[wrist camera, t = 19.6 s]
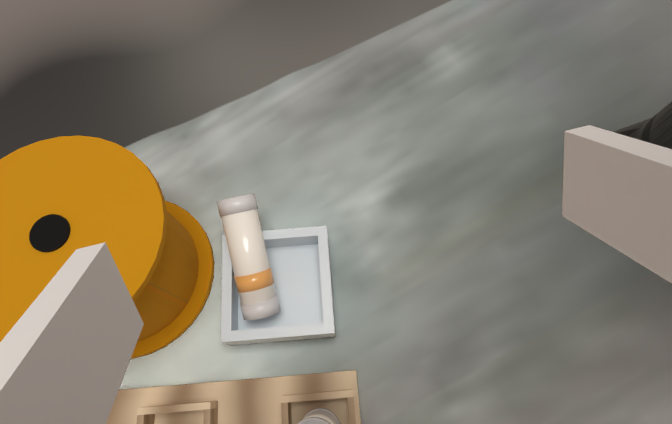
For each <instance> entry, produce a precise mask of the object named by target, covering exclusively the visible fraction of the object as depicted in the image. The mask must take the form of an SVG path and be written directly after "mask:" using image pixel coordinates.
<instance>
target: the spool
mask: <svg viewBox="0 0 672 424" xmlns="http://www.w3.org/2000/svg"><path fill="white" fill-rule="evenodd" d="M104 242H106V244H107V247H108V249H109V251H110V253H111V255H112V257H113V259H114V261H115V264H116V266H117V268H118V270H119V272H120V274H121V276H122V278H123V281H124V283H125V285H126V287H127V289H128V291H129V293H130V295H131V298H132V300H133V302H134V304H135V306H136V308H137V310H138V312H139V315H140V317H141V319H142V321H143V323H144V325H143V328H142V330H141V333H140V335H139V338H138V341H137V343H136V346H135V349H134V351H133V354H132V356H131V359H133V358H137V357H141V356H145V355H148V354H151V353H153V352H155V351H157V350H159V349H161V348H164V347H166V346H167V345H168V344H170V343H171V342H173V341H174V340H175V339H177V338H178V337H180V336H181V335H182V334H183V333H184V332H185V331H186V330H187V329H188V328H189V327H190V326H191V325H192V324H193V322H194V321H195V319H196V318H197V316H198V315H199V313H200V312H201V311H202V309H203V307H204V305H205V303H206V300H207V298H208V296H209V294H210V290H211V286H212V282H213V278H214V258H213V251H212V247H211V244H210V241H209V239H208V236H207V234H206V233H205V231H204V230H203V228H202V227H201V225H200V224H199V222H198V221H197V220H196V219H195V218H194V217H193V216H191V215H190V214H189V213H188V212H187V211H186V210H184V209H182V208H181V207H179V206H177V205H176V204H173V203H170V202H167V201H165V200H164V197H163V194H162V191H161V189H160V186H159V183H158V182H157V180H156V179H155V177H154V176H153V174H152V173H151V171H150V170H149V168H148V167H147V166H146V165H145V164H144V163H143V162H142V161H141V160H140V159H138V158H137V157H136V156H135V155H134V154H133V153H132V152H130V151H128V150H127V149H125V148H123V147H121V146H120V145H118V144H116V143H113V142H110V141H107V140H104V139H101V138H95V137H87V136H63V137H56V138H51V139H47V140H42V141H38V142H36V143H33V144H30V145H28V146H25V147H23V148H20V149H18V150H16V151H14V152H13V153H11V154H9V155H7V156H5V157H4V158H2V159H0V342H1V341H2V340H3V339H4V337H5V336H6V335H7V334H8V332H9V331H10V330H11V329H12V327H13V326H14V325H15V324H16V323H17V321H18V320H19V319H20V318H21V316H22V315H23V314H24V313H25V312H26V310H27V309H28V308H29V307H30V305H31V304H32V303H33V302H34V301H35V299H36V298H37V297H38V296H39V294H40V293H41V292H42V291H43V289H44V288H45V287H46V286H47V285H48V283H49V282H50V281H51V280H52V278H53V277H54V276H55V275H56V274H57V272H58V271H59V270H60V269H61V267H62V266H63V265H64V264H65V262H66V261H67V260H68V259H69V258H70V256H71V255H72V254H73V253H74V251H75V250H76V249H80V248H84V247H88V246H92V245H96V244H100V243H104Z"/></svg>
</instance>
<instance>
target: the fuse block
mask: <svg viewBox="0 0 672 424" xmlns="http://www.w3.org/2000/svg"><path fill="white" fill-rule="evenodd" d="M316 408H325V409H328V410H330V411H332V412H333V413H334V414H335V415H336V416H337V418H338V419H339V422H340V424H361V420H360V409H359V398H358V387H357V375H356V370H352V371H340V372H328V373H316V374H304V375H292V376H280V377H268V378H257V379H245V380H233V381H221V382H209V383H197V384H185V385H173V386H161V387H149V388H137V389H125V390H118V393H117V396H116V398H115V401H114V404H113V406H112V409H111V411H110V414H109V417H108V419H107V422H106V424H297V423H299V422H300V421H301V420H303V418H304V417H305V416H306V415H307V414H308V413H309V412H310V411H312V410H314V409H316Z"/></svg>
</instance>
